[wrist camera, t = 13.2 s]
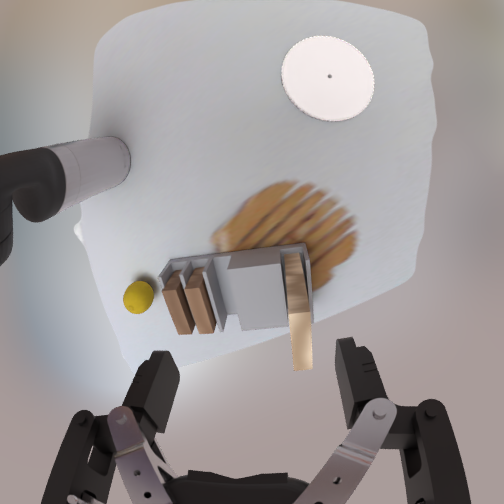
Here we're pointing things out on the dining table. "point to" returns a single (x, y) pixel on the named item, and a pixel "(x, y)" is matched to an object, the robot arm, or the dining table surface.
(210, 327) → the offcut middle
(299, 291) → the wooden block
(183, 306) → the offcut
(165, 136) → the dining table surface
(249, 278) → the rack
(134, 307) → the lemon
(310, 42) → the plastic lid
